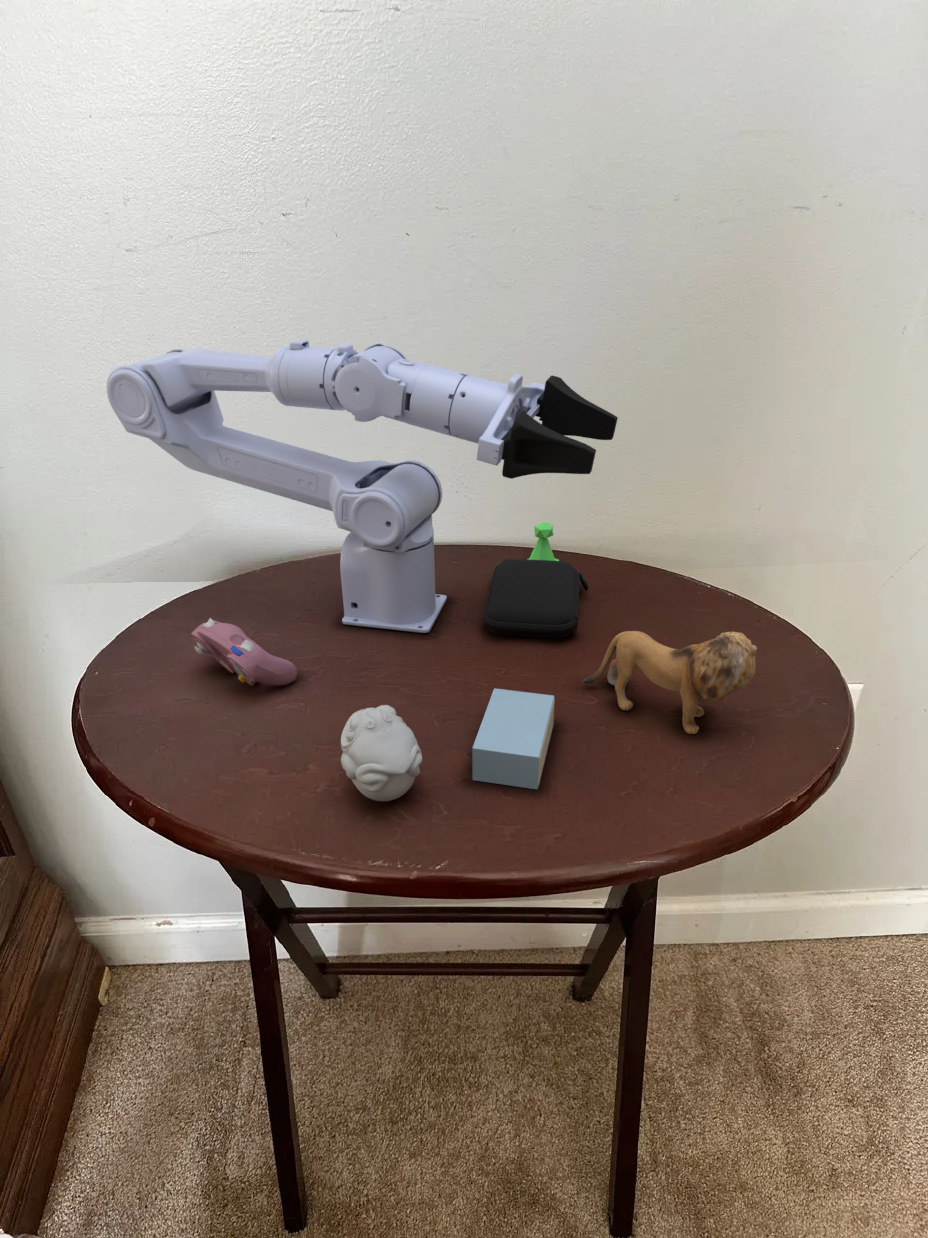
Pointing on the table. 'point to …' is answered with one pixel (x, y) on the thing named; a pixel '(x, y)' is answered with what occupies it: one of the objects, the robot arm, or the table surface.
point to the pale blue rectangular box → (513, 739)
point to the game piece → (543, 543)
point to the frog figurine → (380, 753)
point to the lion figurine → (681, 669)
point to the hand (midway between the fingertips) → (604, 444)
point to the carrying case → (533, 598)
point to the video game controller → (242, 654)
